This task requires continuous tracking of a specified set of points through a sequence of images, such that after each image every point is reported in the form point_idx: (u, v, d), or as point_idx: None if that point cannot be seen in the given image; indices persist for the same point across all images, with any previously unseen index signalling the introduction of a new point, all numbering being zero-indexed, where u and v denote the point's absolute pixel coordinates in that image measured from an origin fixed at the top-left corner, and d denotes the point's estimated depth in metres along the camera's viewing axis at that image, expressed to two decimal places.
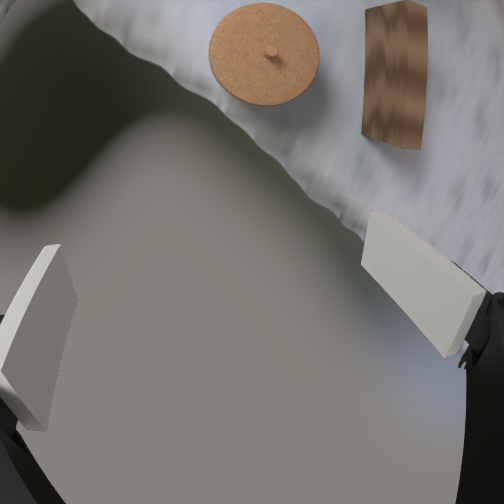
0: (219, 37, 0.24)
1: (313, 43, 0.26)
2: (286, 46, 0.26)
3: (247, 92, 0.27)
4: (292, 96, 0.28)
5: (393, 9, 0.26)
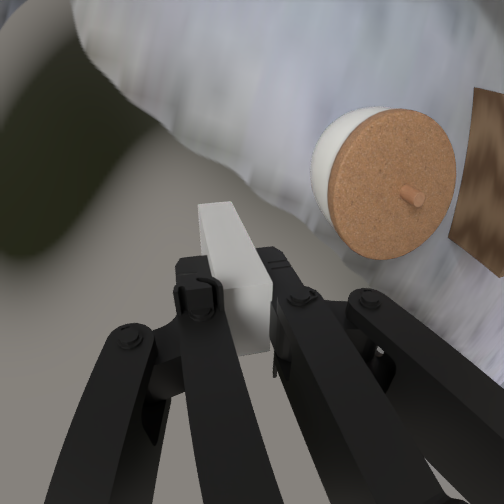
0: (350, 169, 0.18)
1: (453, 172, 0.20)
2: (426, 181, 0.19)
3: (372, 247, 0.21)
4: (418, 244, 0.22)
5: None
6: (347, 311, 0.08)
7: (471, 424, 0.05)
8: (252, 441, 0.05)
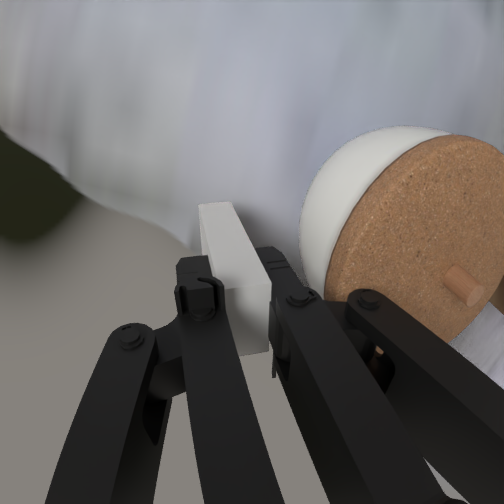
0: (368, 257, 0.10)
1: None
2: (482, 253, 0.11)
3: None
4: (455, 335, 0.14)
5: None
6: (346, 311, 0.08)
7: (470, 424, 0.05)
8: (252, 440, 0.05)
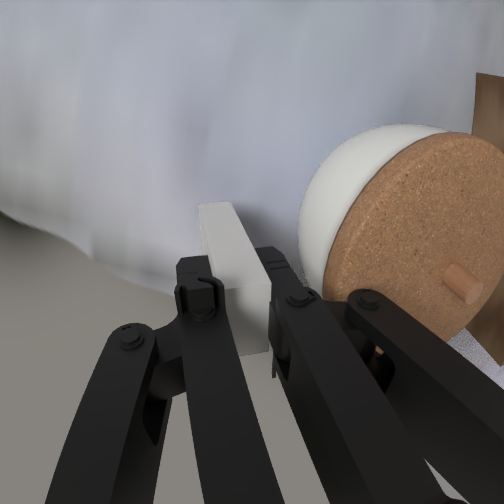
0: (364, 257, 0.10)
1: None
2: (482, 250, 0.11)
3: None
4: (456, 332, 0.14)
5: None
6: (346, 311, 0.08)
7: (470, 424, 0.05)
8: (253, 440, 0.05)
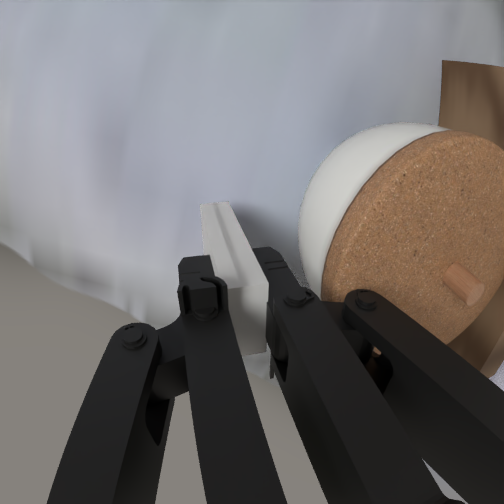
0: (362, 258, 0.09)
1: None
2: (483, 250, 0.11)
3: None
4: (459, 333, 0.14)
5: None
6: (344, 311, 0.08)
7: (469, 425, 0.05)
8: (255, 440, 0.05)
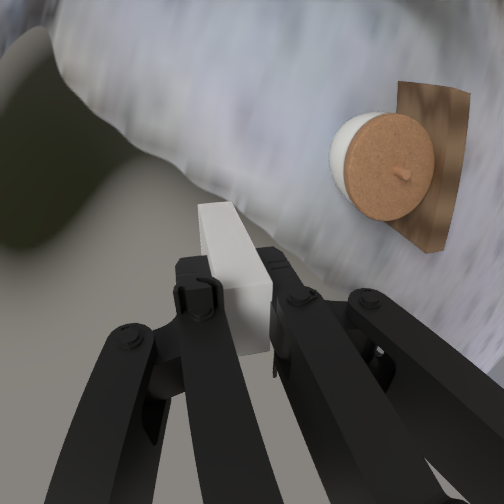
0: (358, 155, 0.26)
1: (432, 155, 0.28)
2: (412, 162, 0.27)
3: (377, 211, 0.29)
4: (410, 209, 0.30)
5: (433, 93, 0.26)
6: (347, 311, 0.08)
7: (471, 424, 0.05)
8: (252, 441, 0.05)
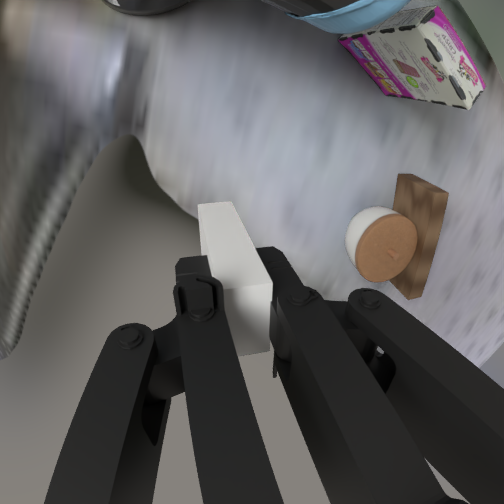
0: (365, 246, 0.41)
1: (415, 238, 0.43)
2: (401, 245, 0.43)
3: (375, 277, 0.45)
4: (398, 273, 0.46)
5: (422, 192, 0.41)
6: (347, 311, 0.08)
7: (471, 424, 0.05)
8: (251, 441, 0.05)
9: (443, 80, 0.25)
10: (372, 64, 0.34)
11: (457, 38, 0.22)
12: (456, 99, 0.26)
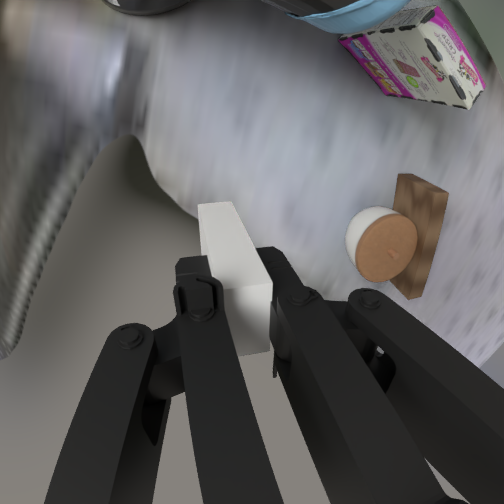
0: (365, 246, 0.41)
1: (415, 238, 0.43)
2: (401, 245, 0.43)
3: (375, 277, 0.45)
4: (398, 273, 0.46)
5: (422, 192, 0.41)
6: (347, 311, 0.08)
7: (471, 424, 0.05)
8: (252, 441, 0.05)
9: (443, 80, 0.25)
10: (372, 64, 0.34)
11: (457, 38, 0.21)
12: (456, 98, 0.26)
